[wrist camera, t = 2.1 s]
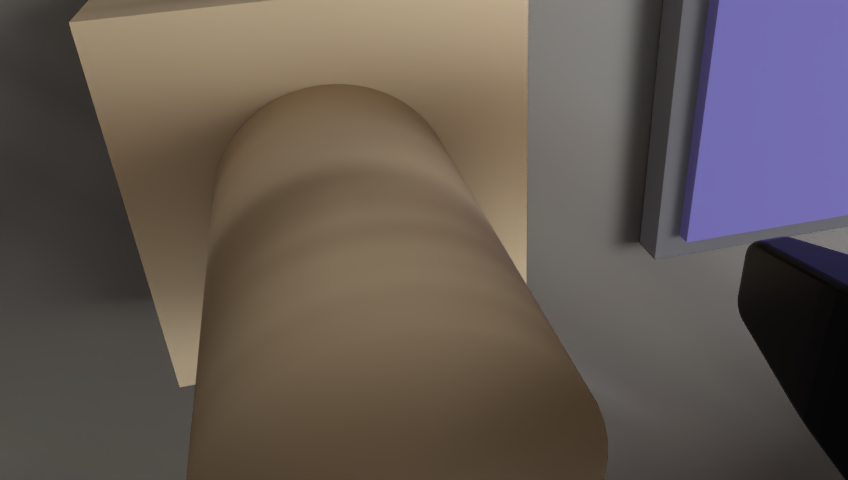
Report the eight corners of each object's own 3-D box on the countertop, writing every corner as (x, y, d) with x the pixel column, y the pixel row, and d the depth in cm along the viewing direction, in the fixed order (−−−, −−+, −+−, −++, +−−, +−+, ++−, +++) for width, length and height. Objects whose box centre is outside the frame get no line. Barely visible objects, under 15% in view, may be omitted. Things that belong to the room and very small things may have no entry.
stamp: (483, 247, 16) (692, 629, 8) (190, 295, 15) (132, 770, 7) (474, -57, 12) (796, 119, 5) (105, -20, 12) (-138, 257, 4)
